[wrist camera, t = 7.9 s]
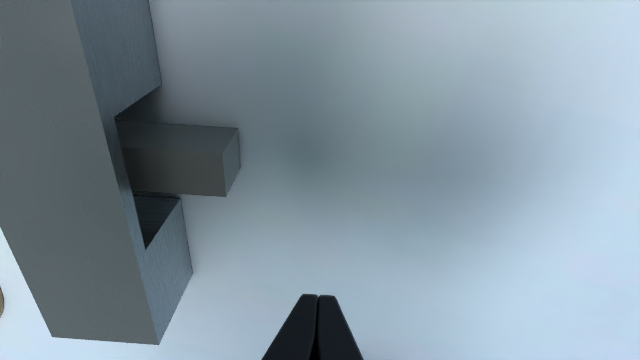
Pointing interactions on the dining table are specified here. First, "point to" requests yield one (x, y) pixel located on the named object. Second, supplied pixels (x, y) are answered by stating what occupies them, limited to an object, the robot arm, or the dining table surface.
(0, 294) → the coaster
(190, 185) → the tan block with bar
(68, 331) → the grey notched block
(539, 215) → the dining table surface
